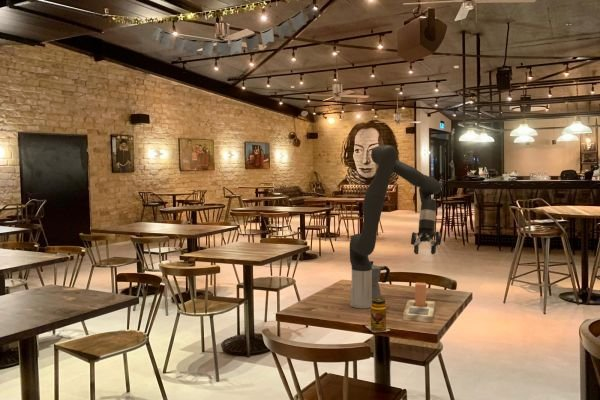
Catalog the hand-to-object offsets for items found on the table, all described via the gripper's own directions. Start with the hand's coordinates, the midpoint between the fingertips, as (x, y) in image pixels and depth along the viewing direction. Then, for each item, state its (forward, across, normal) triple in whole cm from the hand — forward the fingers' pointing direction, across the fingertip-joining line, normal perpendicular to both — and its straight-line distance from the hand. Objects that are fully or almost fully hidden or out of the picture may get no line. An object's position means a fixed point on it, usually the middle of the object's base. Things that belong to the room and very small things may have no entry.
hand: (424, 254), depth 241 cm
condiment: (+38, +2, -35) cm, 52 cm away
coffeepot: (+22, -26, 0) cm, 34 cm away
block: (+26, +2, -3) cm, 27 cm away
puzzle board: (+28, +4, -7) cm, 29 cm away
